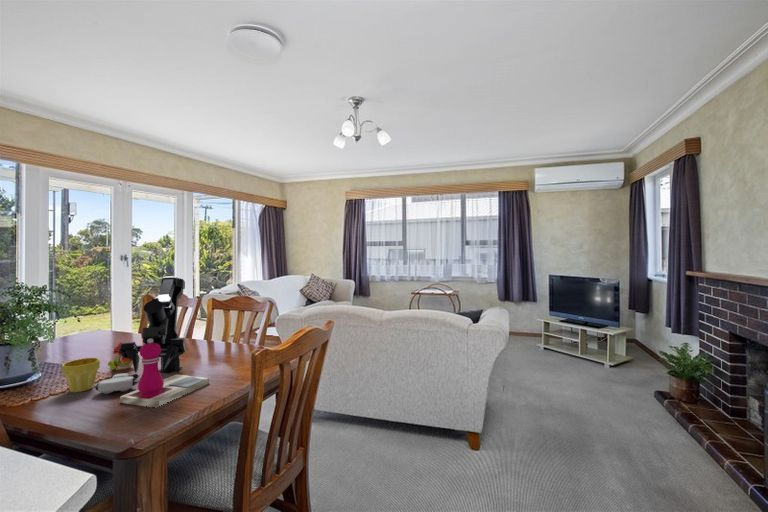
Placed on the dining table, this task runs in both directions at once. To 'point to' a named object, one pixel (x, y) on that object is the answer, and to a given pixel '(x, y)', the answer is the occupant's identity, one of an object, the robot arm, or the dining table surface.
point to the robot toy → (117, 383)
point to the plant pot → (81, 373)
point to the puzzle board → (167, 391)
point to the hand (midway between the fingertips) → (149, 370)
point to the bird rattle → (116, 361)
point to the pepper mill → (150, 371)
